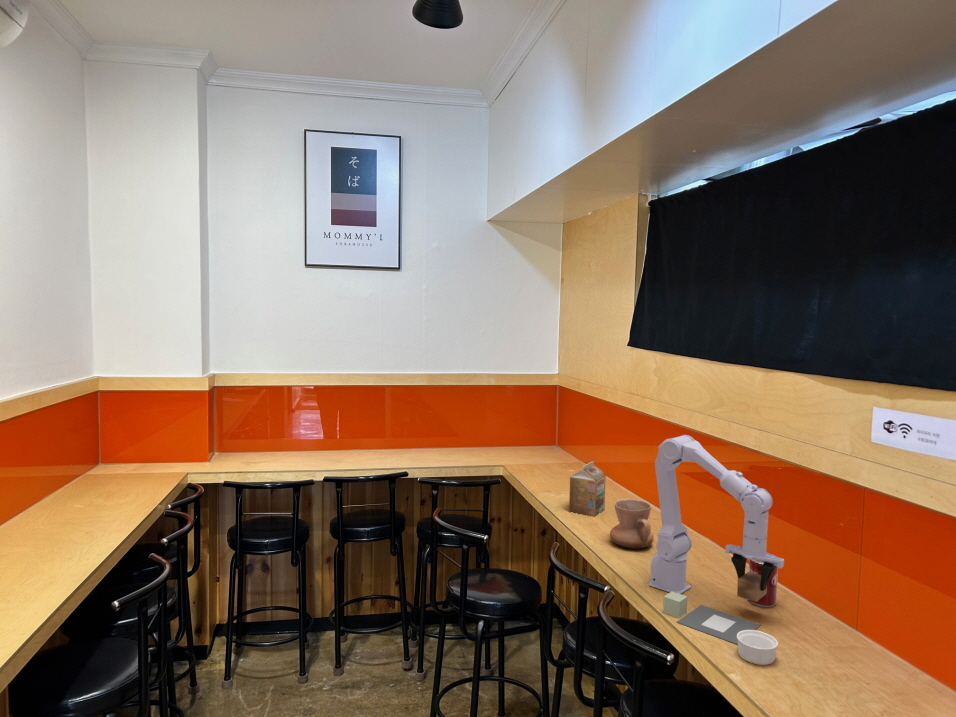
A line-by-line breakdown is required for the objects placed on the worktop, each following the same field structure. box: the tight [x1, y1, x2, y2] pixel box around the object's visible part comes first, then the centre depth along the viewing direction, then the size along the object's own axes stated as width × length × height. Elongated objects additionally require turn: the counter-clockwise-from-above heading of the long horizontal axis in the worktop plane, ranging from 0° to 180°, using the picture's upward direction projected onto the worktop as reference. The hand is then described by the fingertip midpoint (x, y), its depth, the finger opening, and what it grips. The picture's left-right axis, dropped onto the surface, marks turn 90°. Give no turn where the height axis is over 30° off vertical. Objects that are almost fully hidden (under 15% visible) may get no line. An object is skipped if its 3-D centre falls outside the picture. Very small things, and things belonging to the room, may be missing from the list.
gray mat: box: [676, 604, 761, 646], centre depth 171 cm, size 16×14×1 cm
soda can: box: [747, 559, 779, 608], centre depth 184 cm, size 7×7×12 cm
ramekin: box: [737, 629, 779, 666], centre depth 156 cm, size 9×9×4 cm
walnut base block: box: [736, 571, 767, 602], centre depth 176 cm, size 5×7×4 cm
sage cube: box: [662, 592, 688, 619], centre depth 177 cm, size 4×4×4 cm
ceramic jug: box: [609, 498, 655, 549], centre depth 226 cm, size 18×14×14 cm
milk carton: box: [568, 460, 607, 518], centre depth 262 cm, size 11×11×19 cm
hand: (752, 586), depth 176 cm, fingers closed on walnut base block, 5 cm apart
